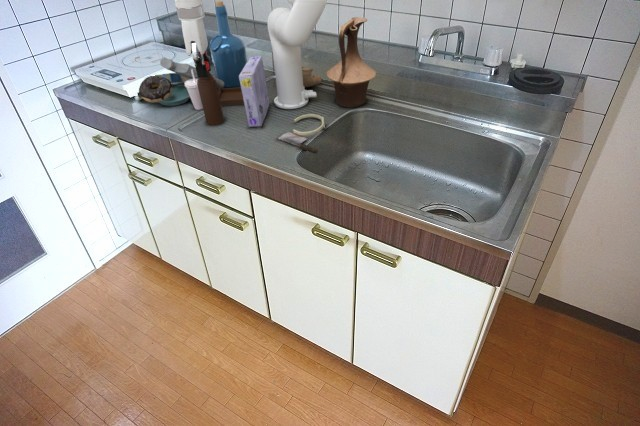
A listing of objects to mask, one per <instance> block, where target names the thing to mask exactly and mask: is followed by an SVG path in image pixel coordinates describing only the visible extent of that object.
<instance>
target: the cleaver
mask: <svg viewBox="0 0 640 426" xmlns="http://www.w3.org/2000/svg"><path fill="white" fill-rule="evenodd" d="M277 139H278V140H279V141H283V142H285V143H288V144H290V145H293V146H296V147H299V148H300V149H301V150H303V151H306V152H309V153H312V154H317V153H318V152H319V150H318V149H317V148H315V147H312V146H309V145H307V144H303V142H305V141H307V140H308V137H307V138H306V137H304V136H302V135H298V134H295V133H294V132H290V131H287V132H285V133H283V134H282V135H280V136H279V137H277Z"/></svg>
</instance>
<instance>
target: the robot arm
mask: <svg viewBox="0 0 640 426" xmlns="http://www.w3.org/2000/svg"><path fill="white" fill-rule="evenodd" d="M173 1H174V5H175V10H176V12H177V18H178V20H179V21H180V22H181V31H182V36H183V41H184V46H185V47H184V48H185V51H186V55H187V56H188V57H190V56H191V55H192V61H193V64H194V67H195V68H196V72H197V76H198V78H204V77H208V72H207V68H206V64H204V61H207V62H209V66H210V69H209V70H208V71H209V72H211V70H212V67H211V64H210V59H209V54H208V48H209V47H208V45H209V42H208V41H209V40H208V37H207V32H206V27H205V24H204V18H205V17H206V13H205V9H204V6H203V0H173ZM287 1H288V3H289V4H290V5H291V8H288V7H285V6H279V7H276V8H274V9H272V10H271V12H270V13H269V15H268V17H267V24H266V25H267V32H268V36H269V40H270V44H271V51H272V59H273V67H274V76H275V84H276V86H275V87H276V93H277V94H276V96H275V97H274V99H273V105H275V107H277V108H279V109H283V110H295V109H300V108H303V107H305V106H306V105H307V104H308V103H309V98H317V91H314V90H313V89H308V90H307V89H305V88H306V87H304V86H303V75H302V67H303V64H302V50H301V46H303V45H304V44H306V42H307V41H308V40H309V38H310V37H311V35H312V34H313V32H314V30H315V28H316V26H317V24H318V22H319V20H320V18H321V17H322V15H323V12H324V11H325V8H326V5H327V1H328V0H287Z"/></svg>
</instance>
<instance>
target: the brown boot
mask: <svg viewBox="0 0 640 426" xmlns="http://www.w3.org/2000/svg"><path fill="white" fill-rule="evenodd" d="M313 70H314V69H313V67H311V66H302V75H303V86H304V88H310V87H314V86H316V85H319V84H321V82H322V76H321V75H320V74H313V73H312V72H313ZM319 75H320V76H321V77H320V76H319Z"/></svg>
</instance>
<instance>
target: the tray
mask: <svg viewBox="0 0 640 426" xmlns="http://www.w3.org/2000/svg"><path fill="white" fill-rule="evenodd" d="M218 93H219V98H220V103H221V107H222V106H236V105H237V106H240V105H245V104H244V99H243V95H242V90H241V86H237V87H223V88H222V89H218Z"/></svg>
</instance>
